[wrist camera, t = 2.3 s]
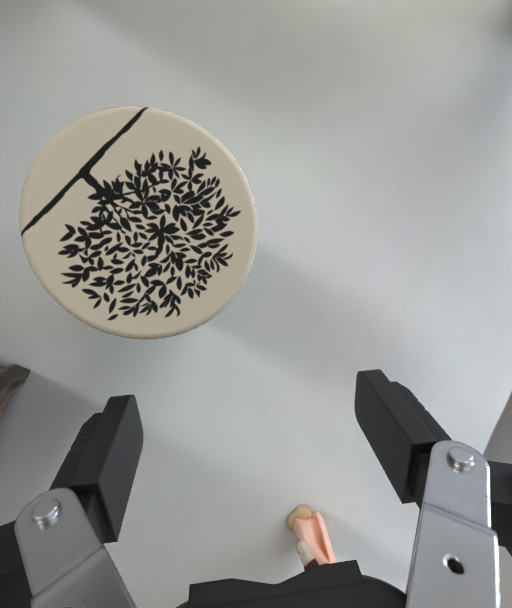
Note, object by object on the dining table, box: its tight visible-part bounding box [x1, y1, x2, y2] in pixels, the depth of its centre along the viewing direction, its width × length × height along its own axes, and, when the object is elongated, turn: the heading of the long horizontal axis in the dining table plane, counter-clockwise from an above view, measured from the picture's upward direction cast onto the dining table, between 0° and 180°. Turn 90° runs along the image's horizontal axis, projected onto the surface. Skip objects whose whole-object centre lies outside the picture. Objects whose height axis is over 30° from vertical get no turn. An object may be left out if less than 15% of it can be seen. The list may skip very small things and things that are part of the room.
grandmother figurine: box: [286, 505, 336, 571], centre depth 28 cm, size 8×4×13 cm, turn 44°
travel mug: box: [19, 106, 258, 339], centre depth 20 cm, size 8×8×18 cm
